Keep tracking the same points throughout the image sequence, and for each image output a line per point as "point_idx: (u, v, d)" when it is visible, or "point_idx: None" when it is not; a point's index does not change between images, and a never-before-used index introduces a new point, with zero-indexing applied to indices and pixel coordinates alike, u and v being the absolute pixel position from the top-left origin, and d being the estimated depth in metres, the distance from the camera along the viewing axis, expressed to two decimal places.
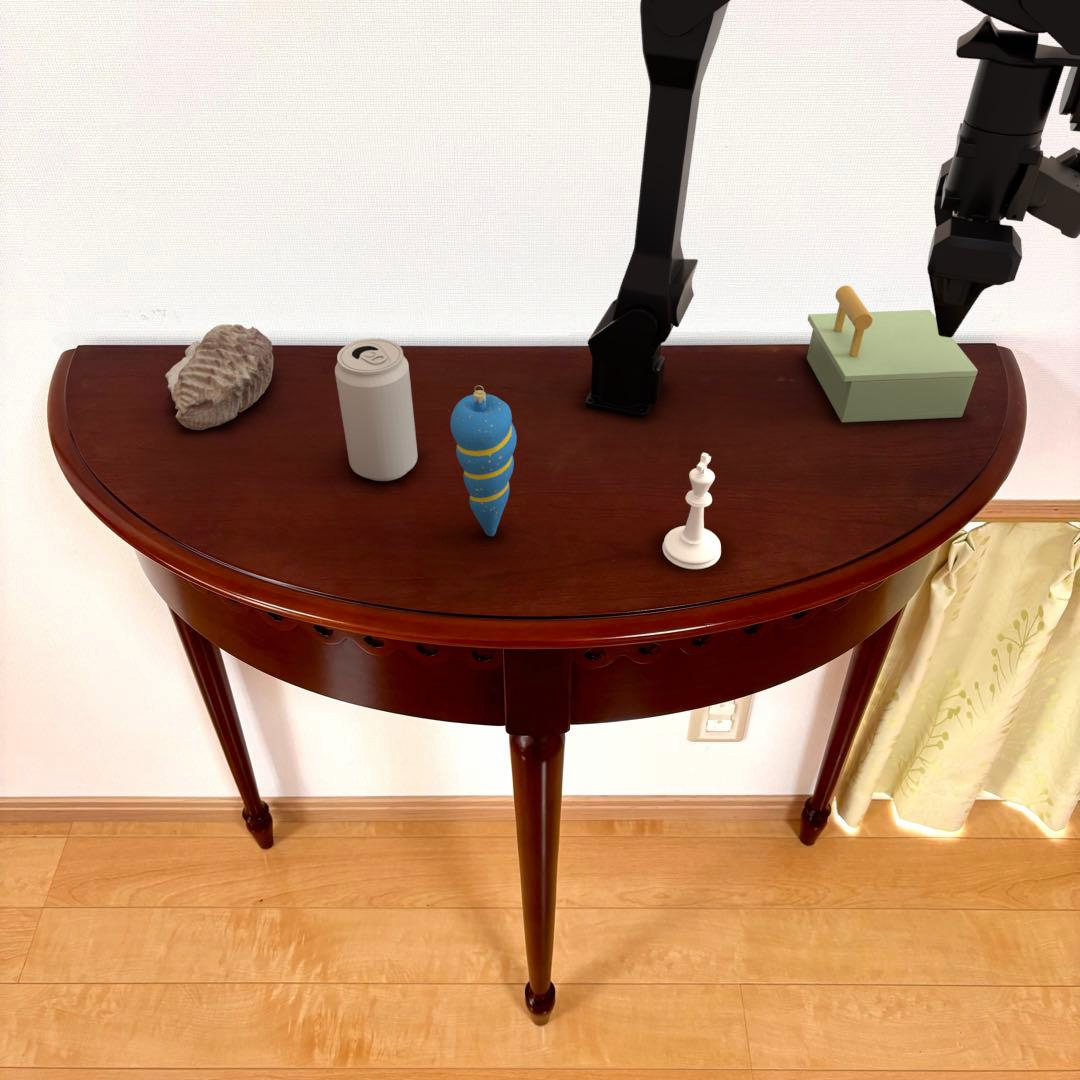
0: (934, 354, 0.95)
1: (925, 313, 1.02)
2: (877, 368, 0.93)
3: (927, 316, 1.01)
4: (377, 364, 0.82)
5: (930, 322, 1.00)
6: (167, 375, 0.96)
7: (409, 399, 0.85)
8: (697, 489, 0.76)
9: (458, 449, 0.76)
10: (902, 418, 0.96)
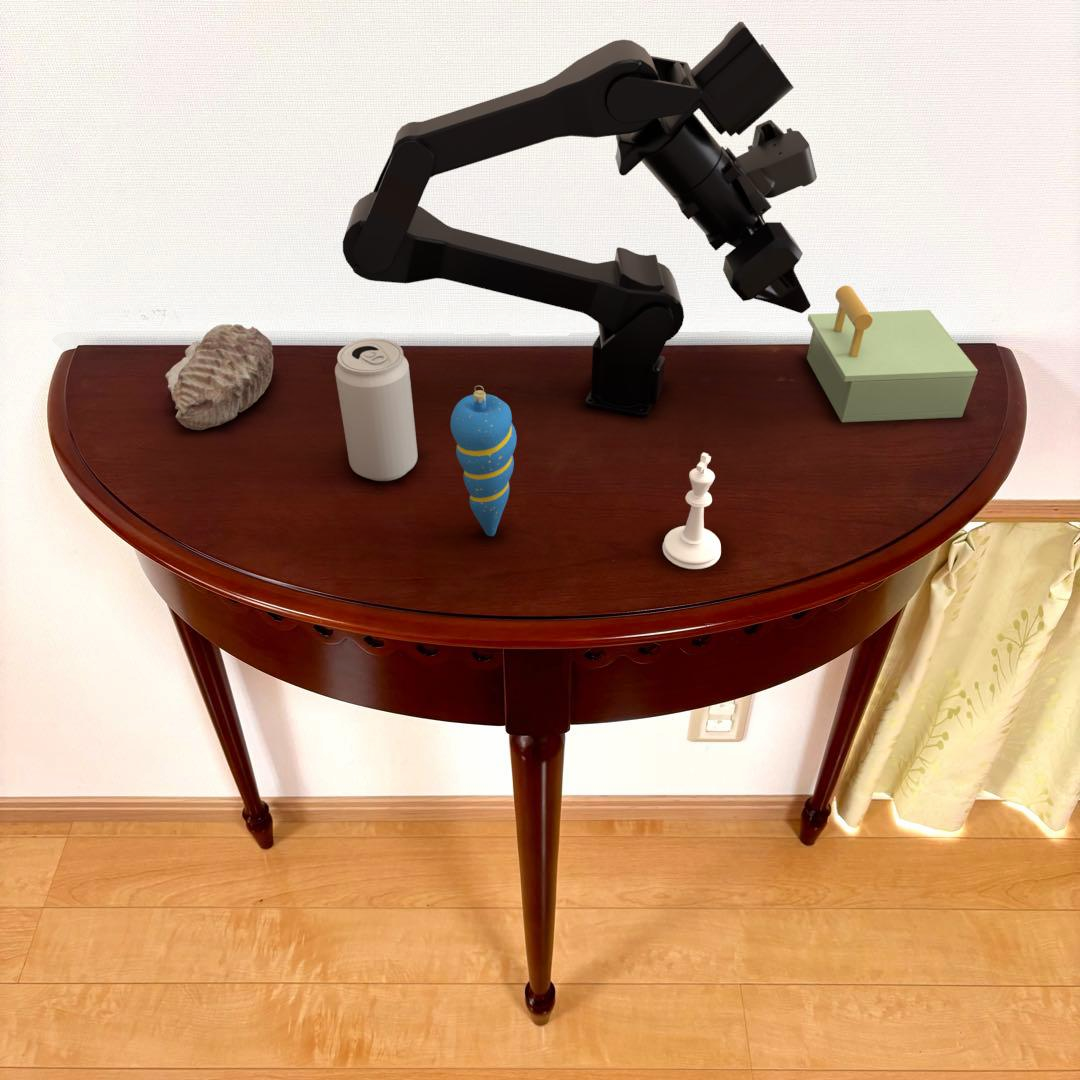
0: (934, 354, 0.95)
1: (925, 313, 1.02)
2: (877, 368, 0.93)
3: (927, 316, 1.01)
4: (377, 364, 0.82)
5: (930, 322, 1.00)
6: (167, 375, 0.96)
7: (409, 399, 0.85)
8: (697, 489, 0.76)
9: (458, 449, 0.76)
10: (902, 418, 0.96)
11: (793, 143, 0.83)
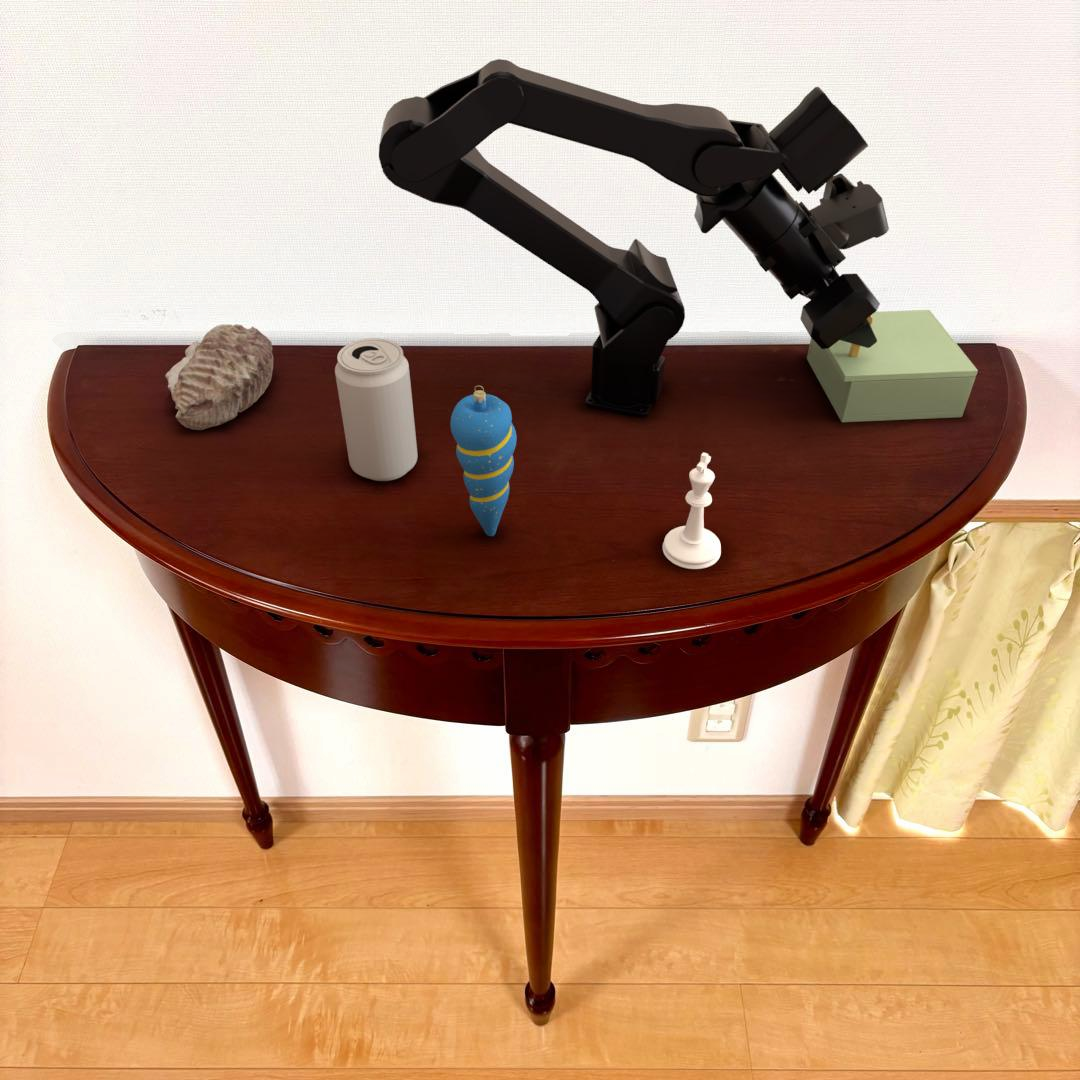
0: (934, 354, 0.95)
1: (925, 313, 1.02)
2: (877, 368, 0.93)
3: (927, 316, 1.01)
4: (377, 364, 0.82)
5: (930, 322, 1.00)
6: (167, 375, 0.96)
7: (409, 399, 0.85)
8: (697, 489, 0.76)
9: (458, 449, 0.76)
10: (902, 418, 0.96)
11: (866, 197, 0.87)
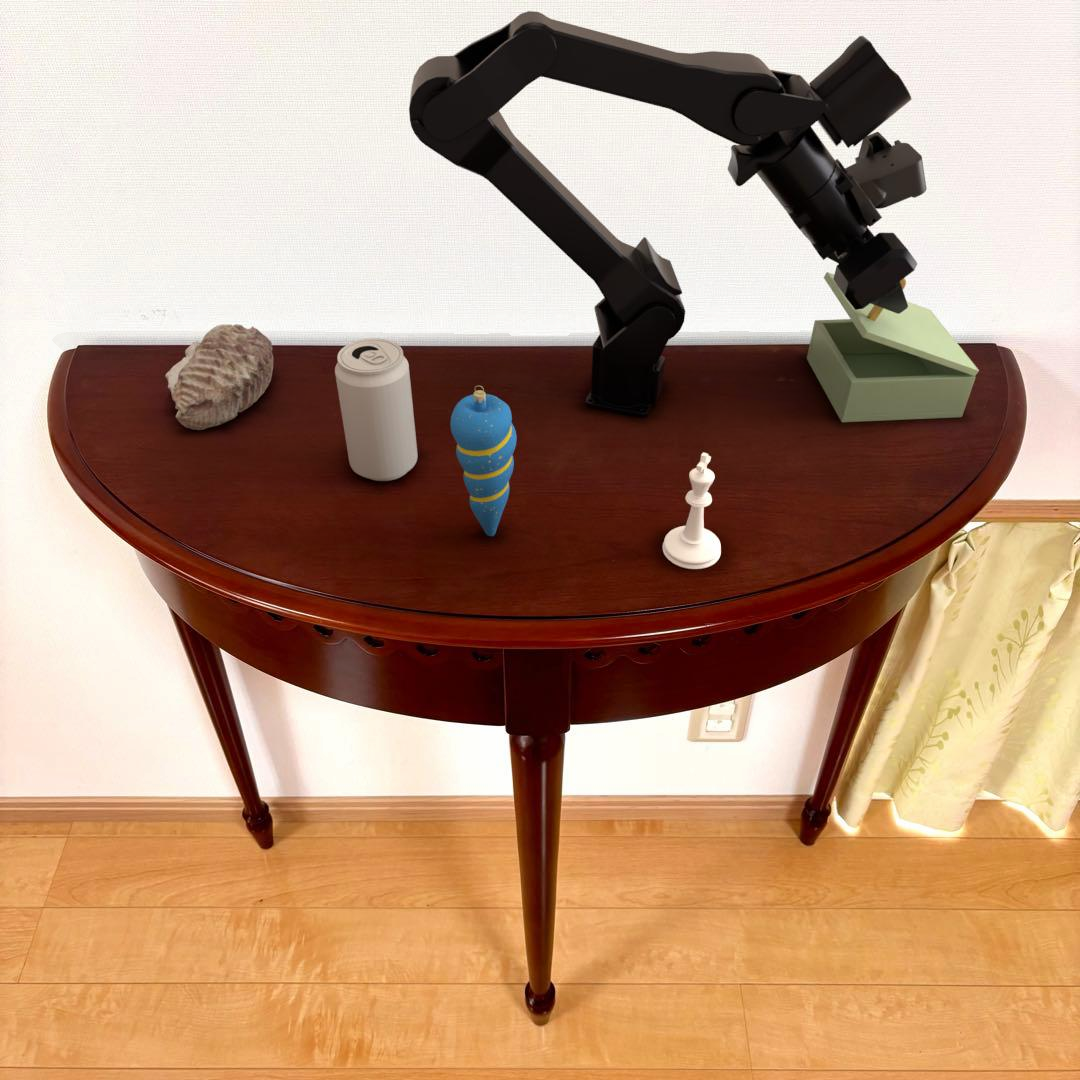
0: (941, 344, 0.95)
1: (927, 311, 1.02)
2: (894, 336, 0.91)
3: (929, 314, 1.01)
4: (377, 364, 0.82)
5: (932, 319, 1.00)
6: (167, 375, 0.96)
7: (409, 399, 0.85)
8: (697, 489, 0.76)
9: (458, 449, 0.76)
10: (902, 418, 0.96)
11: (904, 155, 0.85)
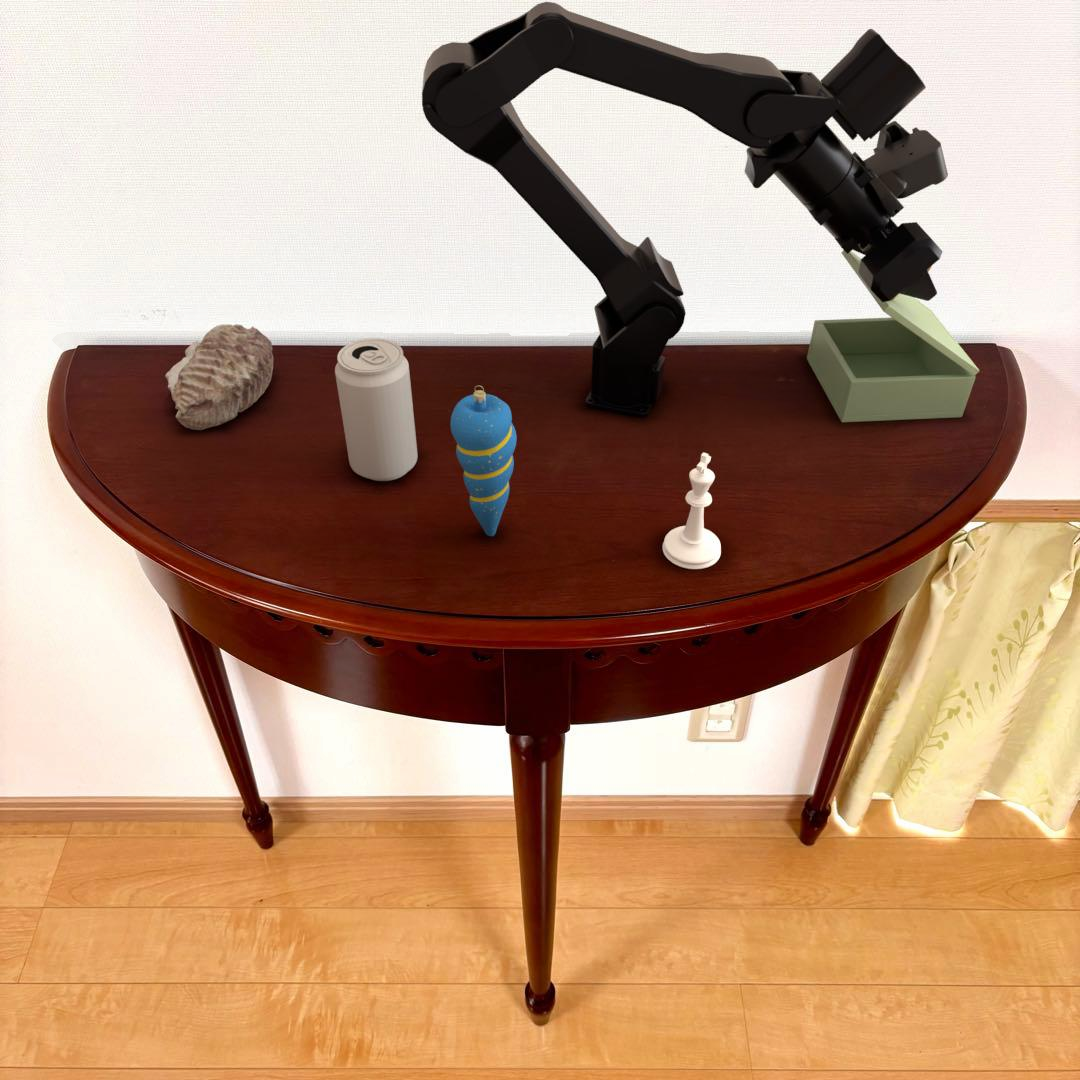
0: (946, 339, 0.94)
1: (929, 310, 1.01)
2: (910, 318, 0.90)
3: (931, 312, 1.01)
4: (377, 364, 0.82)
5: (935, 317, 1.00)
6: (167, 375, 0.96)
7: (409, 399, 0.85)
8: (697, 489, 0.76)
9: (458, 449, 0.76)
10: (902, 418, 0.96)
11: (923, 143, 0.84)
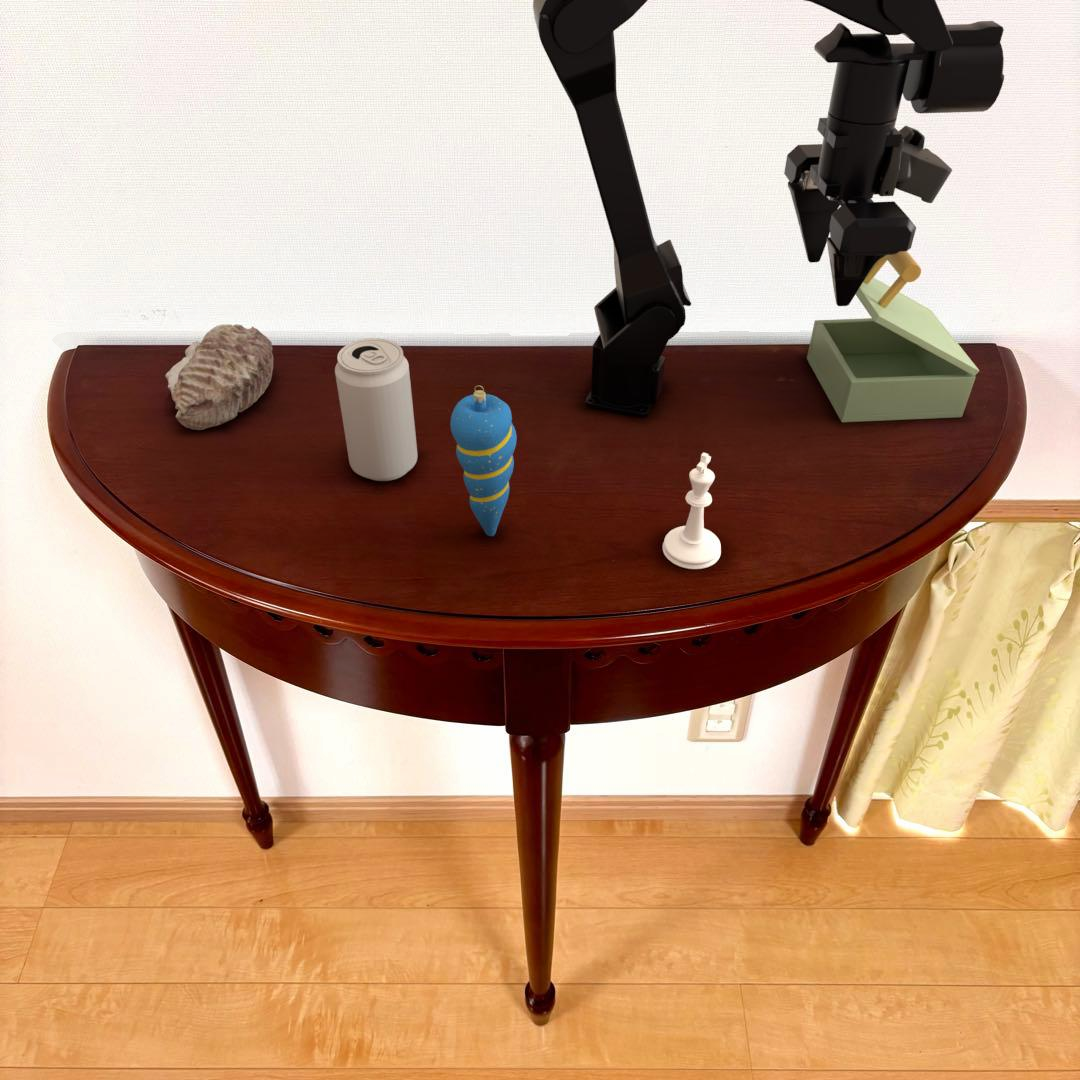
0: (944, 341, 0.94)
1: (928, 310, 1.01)
2: (903, 325, 0.90)
3: (930, 313, 1.01)
4: (377, 364, 0.82)
5: (934, 318, 1.00)
6: (167, 375, 0.96)
7: (409, 399, 0.85)
8: (697, 489, 0.76)
9: (458, 449, 0.76)
10: (902, 418, 0.96)
11: (936, 160, 0.85)
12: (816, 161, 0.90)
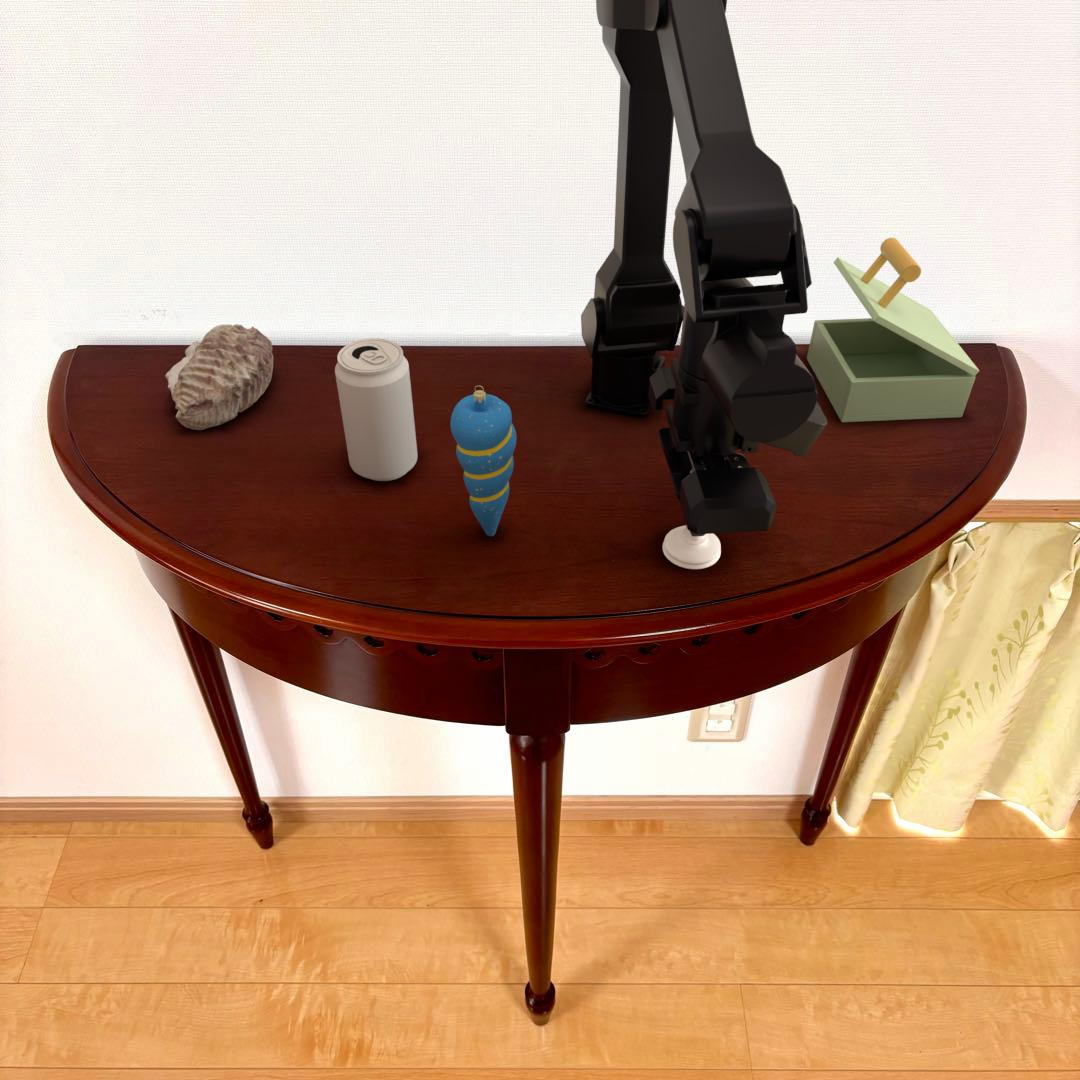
0: (944, 341, 0.94)
1: (928, 310, 1.01)
2: (903, 325, 0.90)
3: (930, 313, 1.01)
4: (377, 364, 0.82)
5: (934, 318, 1.00)
6: (167, 375, 0.96)
7: (409, 399, 0.85)
8: None
9: (458, 449, 0.76)
10: (902, 418, 0.96)
11: None
12: None
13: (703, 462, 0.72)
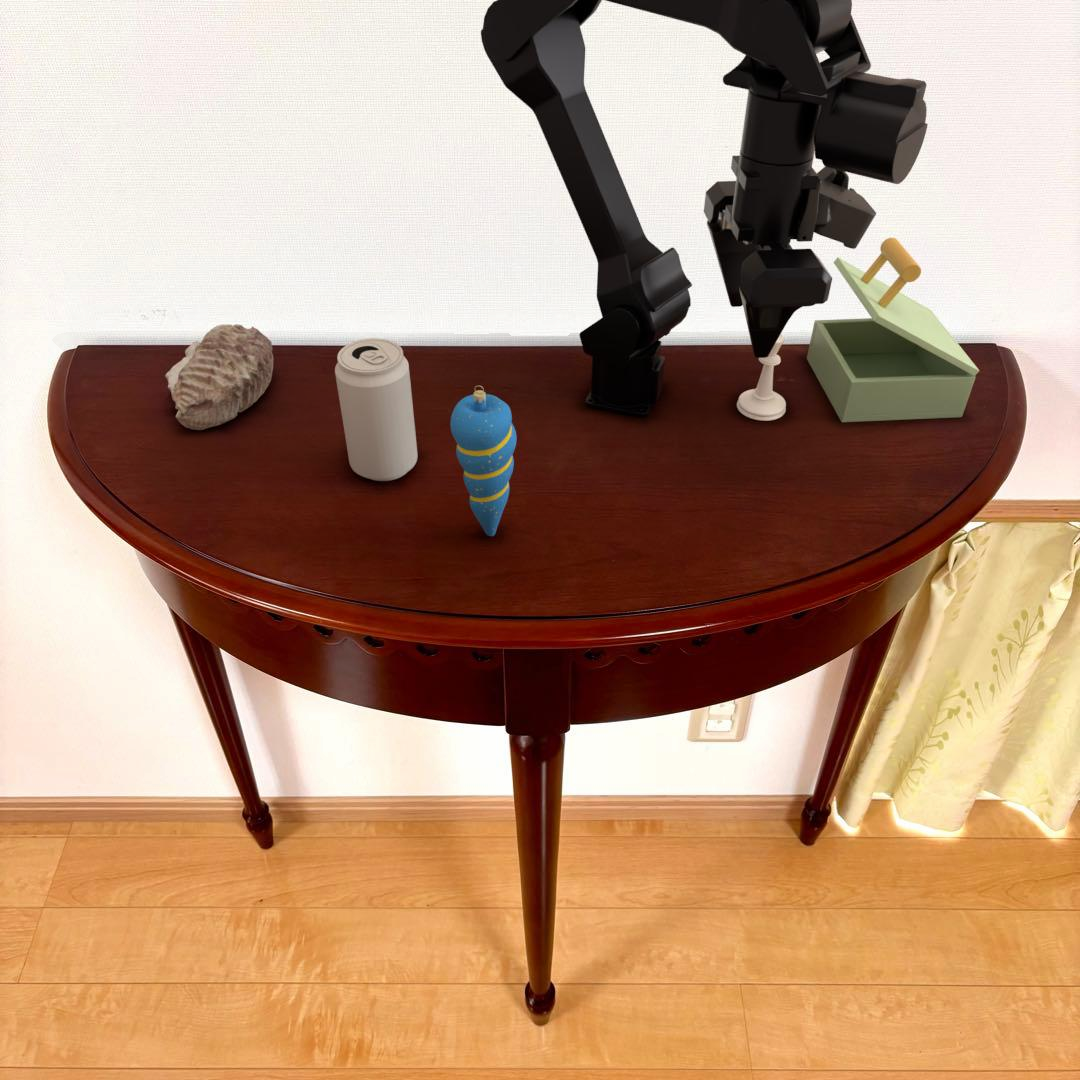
0: (944, 341, 0.94)
1: (928, 310, 1.01)
2: (903, 325, 0.90)
3: (930, 313, 1.01)
4: (377, 364, 0.82)
5: (934, 318, 1.00)
6: (167, 375, 0.96)
7: (409, 399, 0.85)
8: None
9: (458, 449, 0.76)
10: (902, 418, 0.96)
11: (860, 202, 0.78)
12: None
13: None
